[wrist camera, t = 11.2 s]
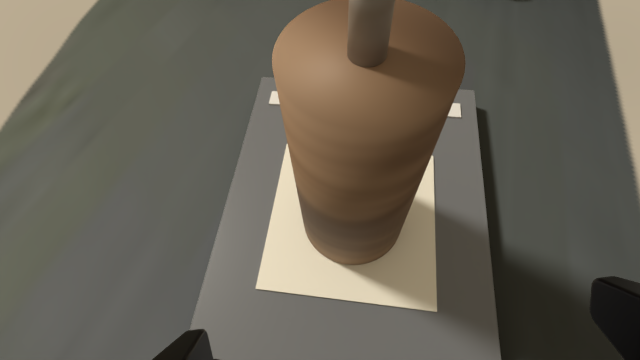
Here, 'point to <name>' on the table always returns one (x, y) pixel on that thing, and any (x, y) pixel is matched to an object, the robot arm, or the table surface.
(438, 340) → the grey flat block
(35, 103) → the table surface
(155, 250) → the table surface
